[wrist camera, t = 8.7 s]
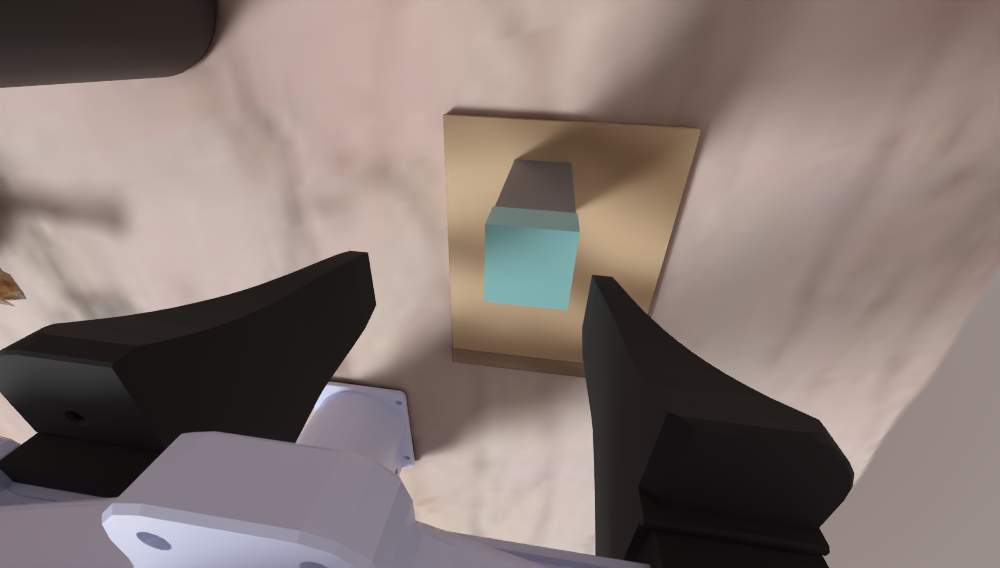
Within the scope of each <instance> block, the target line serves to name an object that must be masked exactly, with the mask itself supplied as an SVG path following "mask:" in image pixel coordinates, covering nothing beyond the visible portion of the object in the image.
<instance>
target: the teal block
mask: <svg viewBox="0 0 1000 568" xmlns="http://www.w3.org/2000/svg"><path fill="white" fill-rule="evenodd" d="M579 234H580V229H579V220H578V213H576V208H575V197H574V187H573V176H572V166H571V163H563V162H548V161H534V160H519V159H515V160H514V162H513V165H512V167H511V169H510V172H509V174H508V176H507V179H506V181H505V184H504V186H503V188H502V191H501V193H500V195H499V198H498V200H497V202H496V205H495V206H493V207H492V209H491V212H490V214H489V216H488V218H487V221H486V223H485V263H484V302H493V303H502V304H512V305H521V306H531V307H540V308H550V309H560V310H568V305H569V299H570V292H571V286H572V279H573V273H574V266H575V260H576V254H577V247H578V241H579Z"/></svg>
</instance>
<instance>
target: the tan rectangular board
mask: <svg viewBox="0 0 1000 568" xmlns="http://www.w3.org/2000/svg"><path fill="white" fill-rule="evenodd" d="M443 122H444V146H445V171H446V195H447V219H448V243H449V268H450V292H451V316H452V340H453V347H452V361H453V362H460V363H468V364H477V365H485V366H493V367H501V368H510V369H518V370H526V371H534V372H543V373H551V374H559V375H567V376H576V377H584V378H586V377H585V370H584V363H583V356H582V325H583V320H584V315H585V310H586V304H587V299H588V294H589V289H590V283H591V278H592V275H600V276H610V277H613V278H614V279H615V280H616V281H617V282H618V283H619V284H620V286H621V287H622V288H623V289H624V290H625V291H626V292H627V294H628V295H629V296H630V297H631V298H632V299H633V300H634V301H635V302H636V303H637V304H638V305H639V307H640V308H641V309H642V310H643V311H644V312H645V313H646V314H647V315H648V311H649V308H650V305H651V301H652V298H653V294H654V291H655V287H656V284H657V281H658V277H659V274H660V270H661V267H662V263H663V260H664V257H665V253H666V250H667V246H668V243H669V239H670V236H671V233H672V229H673V226H674V222H675V219H676V215H677V212H678V209H679V205H680V202H681V198H682V195H683V191H684V188H685V185H686V181H687V178H688V174H689V171H690V167H691V164H692V161H693V157H694V154H695V150H696V147H697V143H698V140H699V137H700V133H701V129H699V128H691V127H673V126H655V125H638V124H620V123H602V122H585V121H567V120H549V119H532V118H514V117H497V116H479V115H461V114H444V115H443ZM515 159H519V160H534V161H548V162H563V163H571V166H572V176H573V187H574V197H575V208H576V213H578V220H579V229H580V234H579V241H578V247H577V254H576V260H575V266H574V273H573V279H572V286H571V292H570V299H569V305H568V310H560V309H550V308H540V307H531V306H521V305H512V304H502V303H493V302H484V263H485V223H486V221H487V218H488V216H489V214H490V212H491V209H492V207H493V206H495V205H496V202H497V200H498V198H499V195H500V193H501V191H502V188H503V186H504V184H505V181H506V179H507V176H508V174H509V172H510V169H511V167H512V165H513V162H514V160H515Z"/></svg>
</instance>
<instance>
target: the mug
mask: <svg viewBox="0 0 1000 568" xmlns="http://www.w3.org/2000/svg"><path fill="white" fill-rule="evenodd" d="M215 21H216V0H0V88H6V87H21V86H36V85H52V84H67V83H82V82H97V81H113V80H128V79H143V78H158V77H169V76H174V75H177V74H180V73H183V72H184V71H186V70H187V69H189V68H190V67H192V66H193V65H194V64H195V63H196V62H197V61H198V60H199V59H200V58H201V57H202V56H203V54H204V53H205V51H206V49H207V48H208V46H209V44H210V41H211V38H212V35H213V32H214V27H215Z"/></svg>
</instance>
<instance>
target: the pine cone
mask: <svg viewBox="0 0 1000 568" xmlns="http://www.w3.org/2000/svg"><path fill="white" fill-rule="evenodd" d="M18 299H26V297H25V295H24V293H23V292H22V290H21V289H20V288H19V286H18V285H17V284H16V282H15V281H14V279H13V278H12V277H11V275H10V274H8V273H6V272H3V271H2V270H1V268H0V304H5V305H10V306H14V305H12V304H10V303H9V302H7V301H5V300H18Z"/></svg>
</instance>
